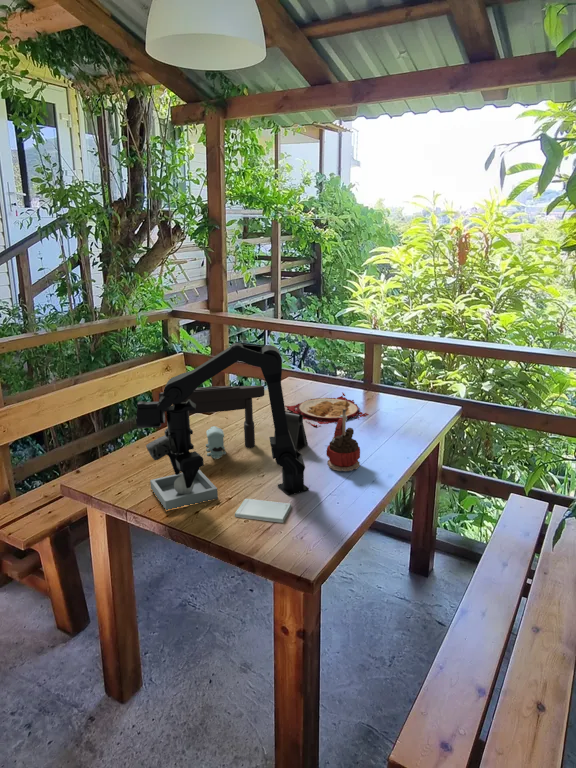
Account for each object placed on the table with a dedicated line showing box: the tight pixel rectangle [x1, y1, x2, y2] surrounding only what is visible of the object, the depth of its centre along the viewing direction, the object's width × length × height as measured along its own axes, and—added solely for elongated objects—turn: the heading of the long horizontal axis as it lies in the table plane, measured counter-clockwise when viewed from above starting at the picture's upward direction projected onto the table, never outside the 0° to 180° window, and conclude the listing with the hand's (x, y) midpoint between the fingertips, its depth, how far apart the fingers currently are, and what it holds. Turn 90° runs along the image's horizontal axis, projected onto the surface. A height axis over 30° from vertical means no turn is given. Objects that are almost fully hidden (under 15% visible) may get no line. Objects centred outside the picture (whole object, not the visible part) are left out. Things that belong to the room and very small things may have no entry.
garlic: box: [174, 474, 194, 494], centre depth 147 cm, size 6×5×5 cm
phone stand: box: [285, 410, 309, 452], centre depth 176 cm, size 9×6×12 cm, turn 147°
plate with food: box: [285, 392, 370, 428], centre depth 211 cm, size 25×26×4 cm
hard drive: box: [234, 498, 293, 524], centre depth 138 cm, size 2×8×12 cm
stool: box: [158, 385, 265, 460], centre depth 175 cm, size 16×21×33 cm
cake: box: [325, 409, 361, 472], centre depth 161 cm, size 11×9×18 cm
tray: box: [149, 469, 219, 510], centre depth 147 cm, size 14×14×3 cm
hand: (182, 480), depth 147 cm, fingers open, 9 cm apart
